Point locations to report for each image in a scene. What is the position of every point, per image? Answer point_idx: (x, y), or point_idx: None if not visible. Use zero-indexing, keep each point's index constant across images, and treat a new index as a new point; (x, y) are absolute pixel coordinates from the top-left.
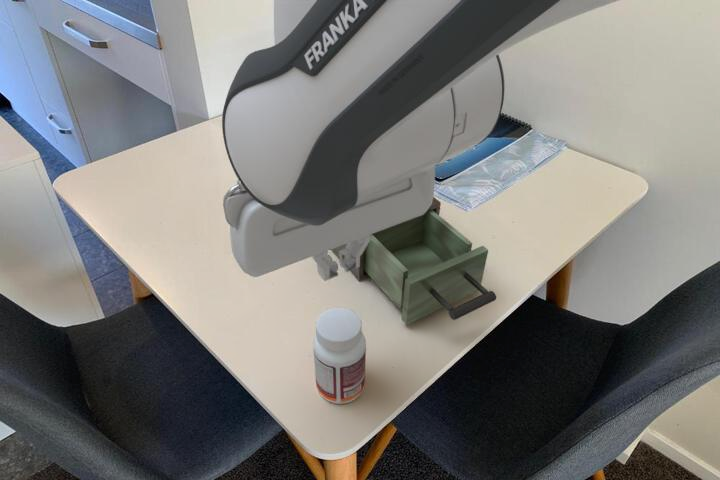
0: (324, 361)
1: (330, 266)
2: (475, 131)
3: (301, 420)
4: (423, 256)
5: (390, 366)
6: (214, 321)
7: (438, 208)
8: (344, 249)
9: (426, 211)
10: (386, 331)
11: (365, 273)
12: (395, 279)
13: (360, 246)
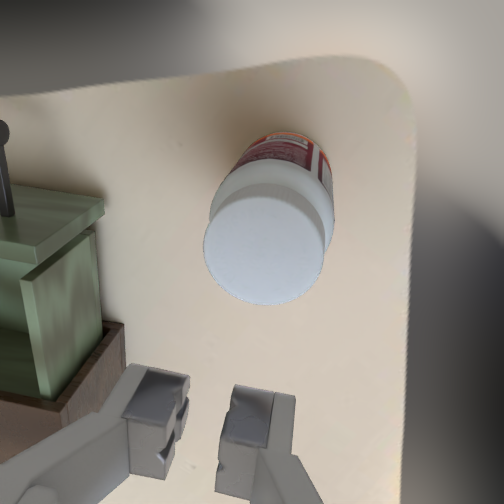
0: (331, 205)
1: (255, 450)
2: None
3: (391, 162)
4: None
5: (183, 148)
6: (371, 404)
7: None
8: (138, 472)
9: None
10: (143, 214)
11: (104, 330)
12: (61, 282)
13: (63, 465)
